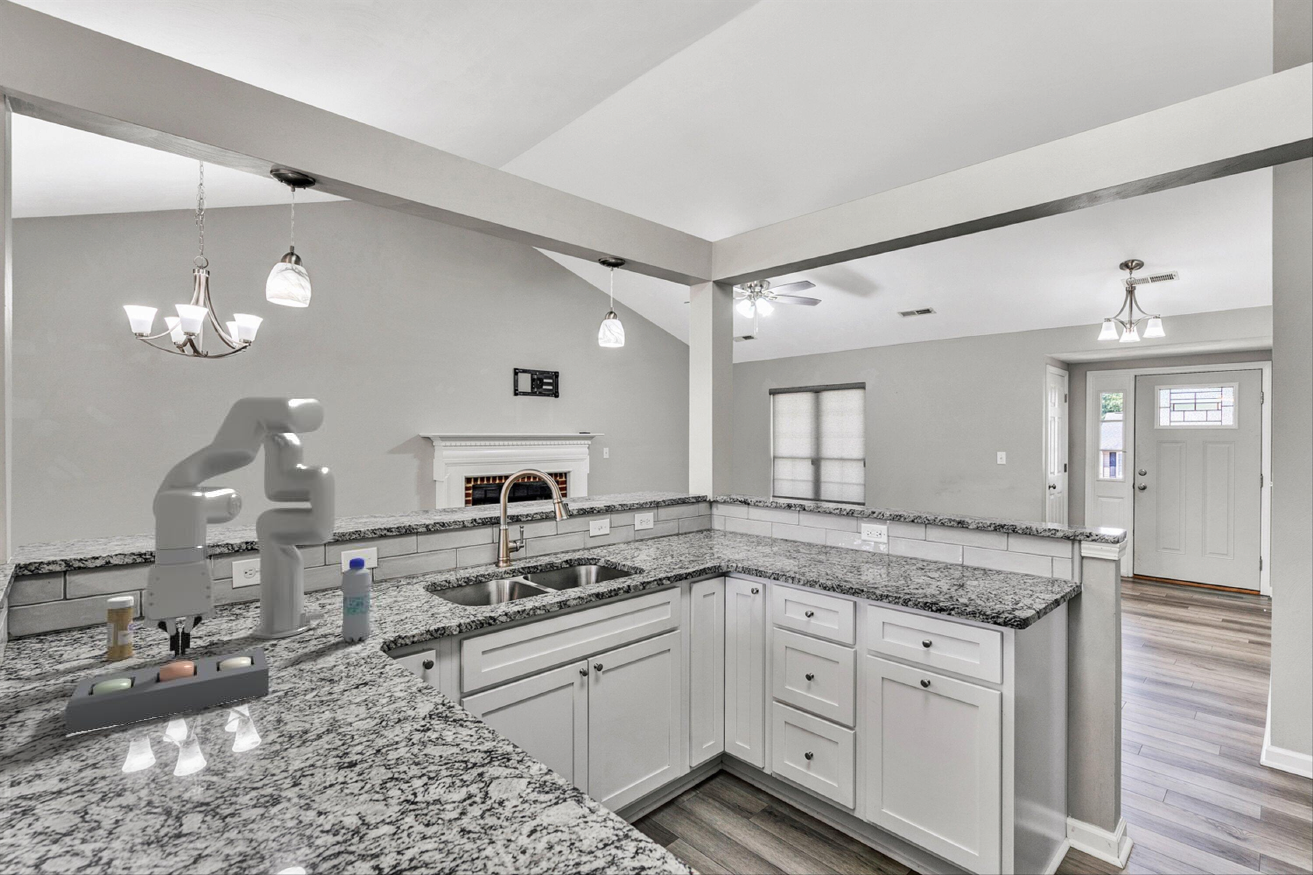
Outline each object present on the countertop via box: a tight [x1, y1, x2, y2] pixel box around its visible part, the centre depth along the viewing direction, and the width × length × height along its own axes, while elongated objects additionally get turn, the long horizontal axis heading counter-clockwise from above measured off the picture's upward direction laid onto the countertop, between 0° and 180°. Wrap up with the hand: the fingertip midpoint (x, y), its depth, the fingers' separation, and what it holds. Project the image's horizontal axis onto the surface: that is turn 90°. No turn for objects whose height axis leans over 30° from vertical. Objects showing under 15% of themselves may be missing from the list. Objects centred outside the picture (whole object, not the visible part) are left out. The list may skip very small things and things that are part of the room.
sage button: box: [93, 678, 131, 695], centre depth 106 cm, size 5×5×4 cm
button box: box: [65, 648, 270, 735], centre depth 112 cm, size 28×14×5 cm, turn 127°
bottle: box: [340, 557, 373, 643], centre depth 147 cm, size 7×7×20 cm
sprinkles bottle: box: [105, 595, 135, 662], centre depth 134 cm, size 5×5×14 cm
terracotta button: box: [160, 660, 194, 682], centre depth 112 cm, size 5×5×4 cm
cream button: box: [220, 657, 251, 671], centre depth 117 cm, size 5×5×4 cm
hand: (180, 653), depth 112 cm, fingers closed
